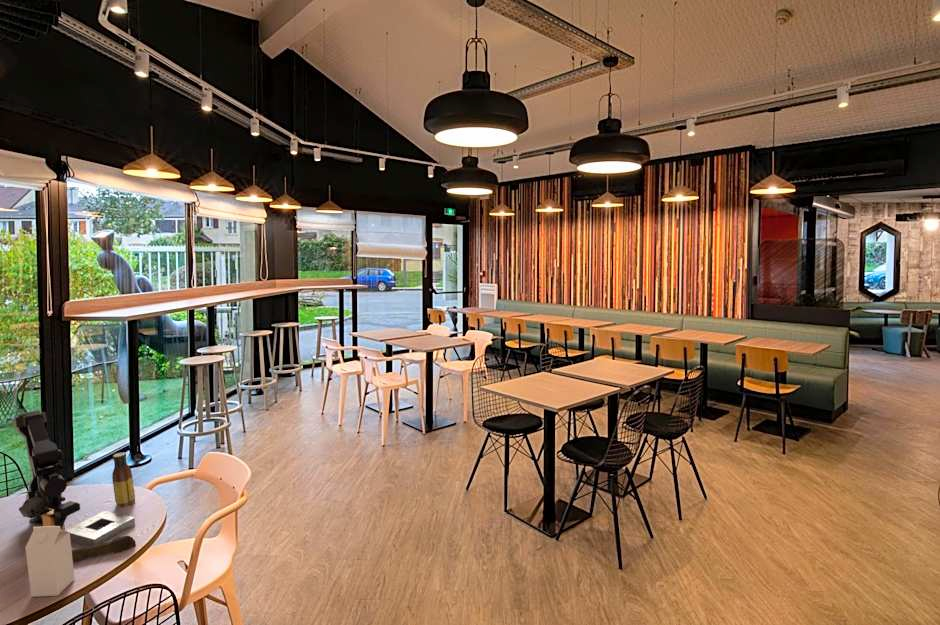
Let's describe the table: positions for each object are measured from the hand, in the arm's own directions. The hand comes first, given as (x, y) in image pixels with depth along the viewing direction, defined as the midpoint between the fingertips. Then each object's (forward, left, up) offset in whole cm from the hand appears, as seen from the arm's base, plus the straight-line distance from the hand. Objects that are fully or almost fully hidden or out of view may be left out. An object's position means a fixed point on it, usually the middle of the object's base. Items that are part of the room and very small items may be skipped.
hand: (54, 529), depth 175 cm
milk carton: (+28, -19, -2) cm, 34 cm away
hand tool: (+25, -3, -2) cm, 25 cm away
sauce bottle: (+3, +23, -2) cm, 23 cm away
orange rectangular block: (0, 0, -2) cm, 2 cm away
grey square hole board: (+13, +6, -2) cm, 14 cm away
